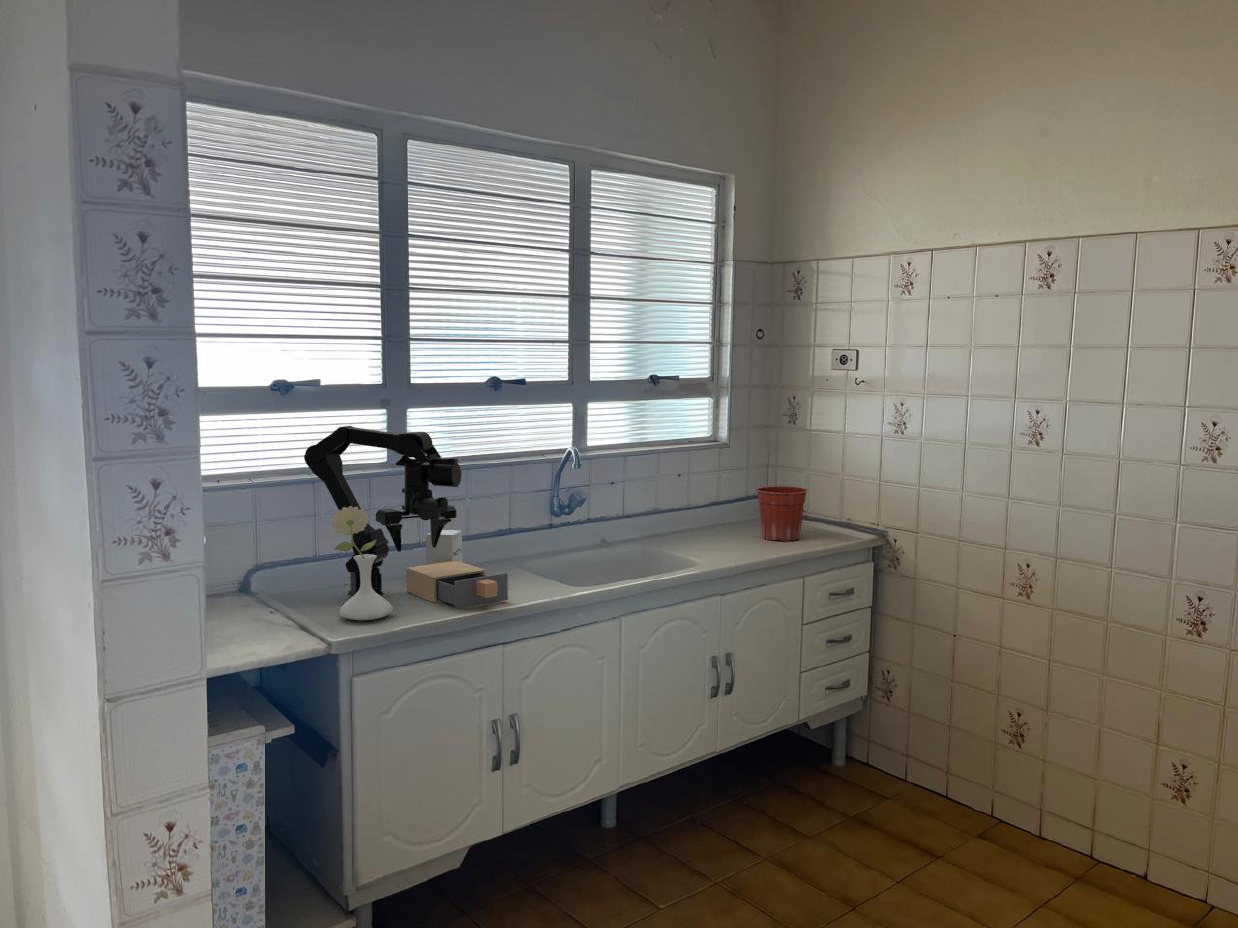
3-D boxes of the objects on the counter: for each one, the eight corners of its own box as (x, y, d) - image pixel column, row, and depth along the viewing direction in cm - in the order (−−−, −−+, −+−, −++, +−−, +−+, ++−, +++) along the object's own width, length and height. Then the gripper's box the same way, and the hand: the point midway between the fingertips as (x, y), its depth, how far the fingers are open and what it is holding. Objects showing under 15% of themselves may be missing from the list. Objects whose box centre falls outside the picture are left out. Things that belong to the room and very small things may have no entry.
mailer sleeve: (434, 602, 227) (434, 577, 226) (406, 591, 238) (406, 567, 237) (485, 593, 236) (485, 569, 235) (456, 583, 247) (456, 560, 246)
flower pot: (751, 541, 308) (752, 491, 306) (759, 532, 323) (760, 485, 322) (803, 544, 303) (804, 493, 301) (808, 535, 318) (810, 487, 317)
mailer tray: (465, 612, 216) (464, 584, 216) (424, 596, 231) (424, 570, 230) (517, 603, 225) (516, 576, 225) (474, 588, 240) (474, 563, 239)
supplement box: (452, 583, 247) (452, 534, 246) (425, 582, 248) (424, 533, 247) (463, 577, 254) (462, 530, 253) (436, 575, 256) (436, 528, 254)
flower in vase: (397, 610, 219) (395, 502, 217) (387, 624, 208) (384, 510, 205) (339, 611, 219) (336, 502, 216) (326, 624, 208) (322, 510, 205)
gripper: (396, 491, 217) (396, 559, 219) (468, 486, 229) (468, 550, 231) (374, 485, 226) (374, 551, 227) (445, 481, 237) (445, 543, 239)
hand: (416, 549), depth 231 cm, fingers open, 9 cm apart
